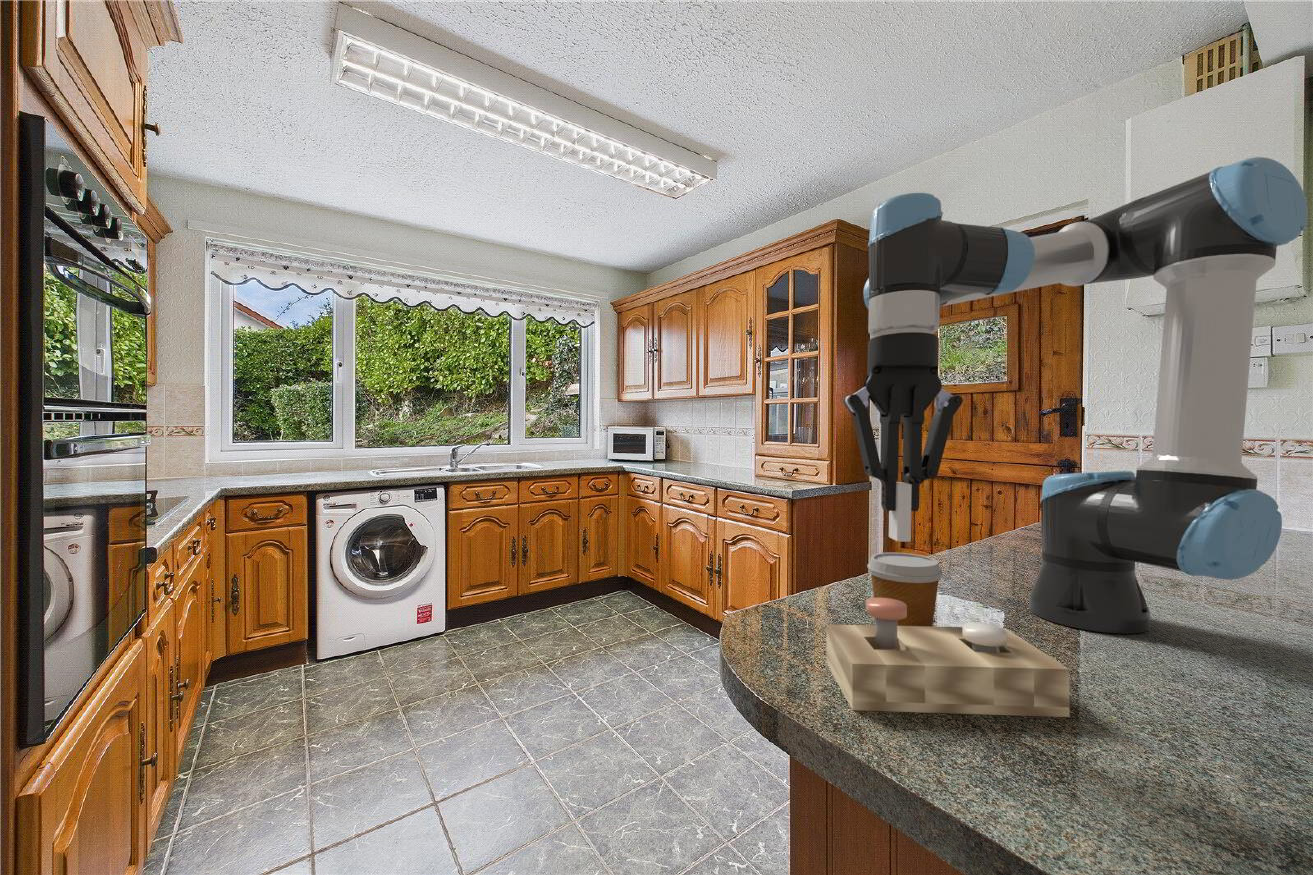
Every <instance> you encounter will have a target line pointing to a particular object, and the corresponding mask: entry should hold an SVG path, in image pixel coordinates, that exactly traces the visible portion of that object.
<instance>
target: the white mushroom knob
mask: <svg viewBox="0 0 1313 875" xmlns="http://www.w3.org/2000/svg"><path fill="white" fill-rule="evenodd" d="M961 627H962V636H963V638H964V639H966V640H967V641H969V642H972V650H973V651H974V652H995V653H996V647H999V646H1004V645H1006V644H1007V631H1006V630H1005V629H1003V628H1004V627H1001V626H998V625H995V624H992V623H987V622H978V621H977V622H975V621H974V622H972V621H969V622H965V623H963V624H962V625H961Z"/></svg>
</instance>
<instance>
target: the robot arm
mask: <svg viewBox="0 0 1313 875" xmlns="http://www.w3.org/2000/svg"><path fill="white" fill-rule="evenodd" d="M1300 184H1301V183H1300V182H1299V181H1298V179H1297V178H1296V177H1295V176H1294V174H1293V173H1292V172H1291V170H1289V169H1288V168H1287V166H1285V165H1283V164H1282V163H1281V162H1279V161H1277V160H1275V159H1272V158H1269V157H1263V156H1257V157H1249V158H1246V159H1243V160H1239V161H1237V162H1234V163H1231V164H1228V165H1226V166H1225V165H1224V166H1218V167H1215V168H1213V169H1212V170H1211V171H1209V172H1206V173H1204V174H1201V175H1199V176H1197V177H1194V178H1191V179H1189V180H1186V181H1183V182H1181V183H1178V184H1175V185H1172V186H1170V187H1167V188H1165V189H1162V190H1159V191H1157V192H1154V193H1152V194H1149V195H1147V196H1143V197H1140V198H1138V199H1135V200H1133V201H1130V202H1127V203H1125V204H1123V205H1121V206H1119V207H1117V208H1114V209H1111V210H1109V211H1106V212H1104V213H1102V214H1100V215H1098V216H1095V217H1092V218H1090V219H1087V220H1083V221H1077V222H1073V223H1070V224H1068V225H1065V226H1063V227H1062V228H1061V229H1059V231H1058V232H1053V233H1048V234H1042V235H1036V236H1032V237H1031V236H1030V237H1029V236H1028V235H1027V234H1025V233H1023V232H1021V231H1017V230H1013V229H1008V228H1004V227H1003V226H996V227H995V226H984V225H978V224H977V225H976V224H966V223H959V222H952V221H950V220H943V219H942V218H943V214H944V212H943V211H942V203H941V200H940V199H939V198H938V197H936V196H935V195H934V194H931V193H929V192H928V193H927V192H909V193H903V194H899V195H895V196H893V197H892V196H891V197H889V198H887V199H885V201H883V202H881V203H879V204H878V205H877V206H876V207H875V208H874V209H873V212H872V214H871V219H870V223H869V236H868V237H869V238H868V239H869V240H868V243H867V247H868V278H867V280H866V282H865V283H864V287H863V293H862V294H863V301H864V305H865V307H866V308H867V310H868V326H867V327H868V328H867V329H868V330H867V331H868V334H869V335H871V336H872V337H871V338H870V339H869V341H868V342H867V373H866V374H867V375H866V377H865V379H864V381H863V384H862V388H861V389H859V390H858V391H856V392H854V393H852V394H850V395H846V396H845V397H844V398H843V404H844V406H845V407H846V409H847V410H848V412H849V413H850V415H851V417H852V421H853V426H854V430H855V436H856V438H857V443H858V447H859V451H860V453H859V454H860V455H861V459H862V460H861V461H862V464H863V465H862V466H863V469H864V473H865V474H866V475H867V476H869V477H872V478H874V479H877V480H879V481H880V484H881V498H880V499H881V502H880V503H881V508H882V510H884V511H886V512H887V511H888V538H890V539H892V540H894V541H895V542H905V543H906V542H911V541H912V540H911V538H912V533H911V532H912V512H918V510H919V509H920V491H921V490H920V485H922V484H923V483H924V482H925V481H927V480H930V479H935V478H936V477H937V476H938V474H939V471H940V468H941V463H942V459H943V455H944V453H945V449H946V445H947V441H948V437H949V434H950V430H951V425H952V422H953V419H954V416H955V414H956V413H957V411H958V410H959V408H960V407H961V405H963V401H964V399H963V396H961V395H953V394H952V393H950V392H949V391H947V390H945V389H944V388H943V384H942V380H941V379H940V377H939V372H938V370H939V364H940V363H939V362H940V361H939V357H940V356H939V353H940V338H939V337H938V336H937V334H934V333H936V332H938V330H939V329H940V308H941V307H946V306H950V305H955V304H960V303H965V302H972V301H975V300H980V299H986V298H991V297H995V296H1000V295H1006V294H1011V293H1015V292H1021V291H1025V290H1031V289H1035V288H1036V289H1037V288H1040V287H1045V286H1046V287H1047V286H1051V285H1055V284H1061V285H1064V286H1068V287H1078V286H1079V287H1080V286H1084V285H1085V286H1086V285H1091V284H1097V283H1106V282H1107V283H1108V282H1115V281H1125V280H1135V279H1140V278H1147V277H1151V276H1153V277H1152V278H1153V280H1154V281H1155V282H1157V283H1158V284H1159V285H1160V286H1163V287H1164V288H1165V289H1166V294H1165V306H1164V313H1163V314H1164V315H1163V326H1162V327H1163V329H1162V340H1161V350H1160V352H1161V353H1160V363H1159V374H1158V386H1157V387H1158V388H1157V396H1156V397H1157V398H1156V409H1155V420H1154V421H1155V422H1154V429H1153V430H1154V431H1153V432H1154V433H1153V444H1152V452H1151V453H1152V455H1151V457H1150V458H1149V460H1147V461H1145V462H1144V463H1142V464H1140V465H1139V466H1137V468H1136V474H1135V473H1134V471H1131V470H1119V471H1117V470H1116V471H1097V472H1096V471H1095V472H1077V473H1075V472H1073V473H1059V474H1052V475H1049V476H1047V477H1046V478H1045V479H1044V481H1043V482H1042V491H1041V497H1040V508H1041V509H1040V511H1041V514H1040V515H1041V516H1040V517H1041V518H1040V519H1041V565H1040V568H1039V570H1038V573H1037V575H1036V578H1035V580H1034V583H1033V585H1032V588H1031V591H1030V593H1029V596H1028V608H1029V611H1030V612H1031V613H1033V615H1036V616H1037V617H1039V618H1042V619H1044V620H1047V621H1049V622H1052V623H1056V624H1058V625H1063V626H1066V627H1069V628H1074V629H1075V628H1076V629H1079V630H1084V631H1085V630H1086V631H1091V632H1098V633H1107V634H1110V633H1111V634H1123V635H1124V634H1125V635H1126V634H1127V635H1128V634H1130V635H1132V634H1141V633H1145V632H1148V631H1150V630H1151V625H1152V624H1151V622H1152V620H1151V618H1152V617H1151V611H1150V609H1149V607H1148V605H1147V601H1146V599H1145V596H1144V593H1143V591H1142V588H1141V586H1140V584H1139V581H1138V578H1137V575H1136V563H1138V564H1139V563H1140V564H1142V565H1143V564H1144V565H1147V566H1148V565H1149V566H1152V567H1157V568H1161V569H1162V568H1163V569H1167V570H1171V571H1176V572H1182V573H1185V574H1186V575H1188V576H1192V577H1195V576H1197V577H1207V578H1214V579H1219V580H1225V581H1226V580H1227V581H1228V580H1229V581H1231V580H1232V581H1233V580H1239V579H1242V578H1246V577H1248V576H1251V575H1252V574H1254V573H1256V572H1257V571H1259V569H1260V568H1261V567H1263V566H1264V565H1265V564H1266V563H1267V562H1268V561H1269V560H1270V559H1271V557H1272V556H1273V555H1274V552H1275V550H1276V549H1277V546H1278V544H1279V542H1280V537H1281V534H1282V528H1283V518H1282V517H1283V516H1282V513H1281V512H1280V511H1278V510H1279V505H1278V503H1277V501H1276V499H1274V498H1273V497H1272V496H1271V495H1269V494H1268V493H1265V492H1262V491H1261V490H1260V489H1257V488H1258V475H1256V474H1255V473H1254V472H1252V471H1251V470H1250V469H1249V468H1247V467H1246V466H1245V465H1244V463H1243V462H1242V458H1243V448H1244V446H1243V445H1244V436H1245V435H1244V434H1245V427H1246V426H1245V424H1246V413H1247V412H1246V410H1247V400H1248V391H1249V390H1248V389H1249V388H1248V387H1249V378H1250V377H1249V375H1250V367H1251V366H1250V364H1251V363H1250V362H1251V354H1252V340H1253V330H1254V329H1253V328H1254V317H1255V316H1254V315H1255V306H1256V305H1255V304H1256V293H1257V281H1258V280H1259V278H1261V277H1262V276H1264V275H1266V273H1268V272H1269V271H1271V270H1272V269H1273V268H1274V267H1275V266H1276V260H1277V251H1278V247H1279V246H1284V245H1287V244H1289V243H1290V242H1292V241H1294V240H1296V239H1297V238H1298V237H1299V236H1301V234H1302V232H1303V230H1304V229H1305V227H1306V225H1307V221H1308V204H1307V199H1306V196H1305V193H1304V190H1303V189H1302V186H1301V185H1300ZM868 398H869V400H870V401H871V402H872V404H873V406H874V407H875V408H876V409H877V411H878V412H879V423H880V455H879V452H878V447H877V443H876V439H875V435H874V430H873V427H872V426H873V425H872V421H871V417H870V414H869V411H868V409H867V408H868V407H869V400H868ZM934 400H935V402H934ZM932 402H934V408H935V411H934V413H933V416H932V418H931V422H930V426H929V430H928V433H927V437H926V441H925V444H924V448H923V425H924V422H925V411H927V409H928V408H929V406H930V405H931V404H932ZM900 423H901V424H902V426H903V430H902V431H903V432H902V433H903V434H902V480H903V482H902V481H901V482H898V480H899V455H900V454H899V453H900V449H899V448H900V445H899V444H900Z"/></svg>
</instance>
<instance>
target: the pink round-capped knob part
mask: <svg viewBox="0 0 1313 875" xmlns="http://www.w3.org/2000/svg"><path fill="white" fill-rule="evenodd" d="M865 612H866V614H867V615H868V616H871V617H873V618H874V625H875V645H876V646H878V647H881V648H884V649H895V648H897V620H900V619H904V618H906V617H907V605H906V604H905V603H904V602H902V601H899V600H895V599H890V598H874V597H871V598H867V599H865Z"/></svg>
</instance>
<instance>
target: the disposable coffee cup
mask: <svg viewBox="0 0 1313 875" xmlns="http://www.w3.org/2000/svg"><path fill="white" fill-rule="evenodd" d="M866 566H867V569H868V572H869V573H870V577H871V584H872V591H873V592H872V593H873V598H890V599H895V600H899V601H902V602H904V603H905V604H906V605H907V617H906V618H904V619H900V620H897V626H932V627H933V624H934V615H935V608H936V602H937V594H938V586H939V580H940V579H941V576H942V575H943V570H942V569H941V568H940V562H939V561H938V560H937V559H935V558H932V557H930V556H926V555H922V554H916V553H908V552H879V553H875V554H872V555H870V559H869V563H867V565H866Z"/></svg>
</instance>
